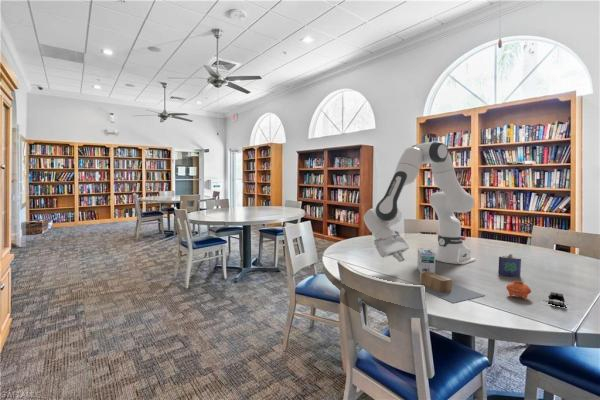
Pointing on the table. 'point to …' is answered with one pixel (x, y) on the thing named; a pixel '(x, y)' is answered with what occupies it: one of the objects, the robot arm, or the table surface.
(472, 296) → the mat
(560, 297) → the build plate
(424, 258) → the light bulb box
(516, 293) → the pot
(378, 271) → the table surface
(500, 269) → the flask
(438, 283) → the walnut block
